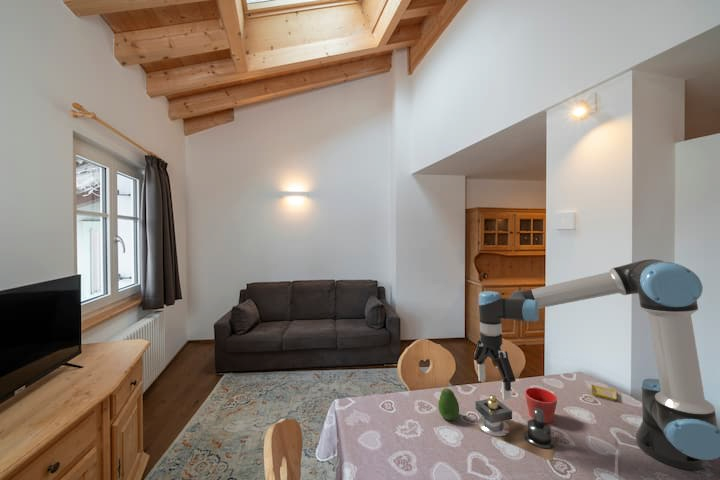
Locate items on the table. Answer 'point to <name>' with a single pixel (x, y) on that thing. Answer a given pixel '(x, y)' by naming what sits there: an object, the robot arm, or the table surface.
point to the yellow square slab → (596, 392)
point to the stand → (539, 431)
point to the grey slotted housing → (493, 416)
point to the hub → (493, 428)
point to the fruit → (448, 405)
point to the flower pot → (541, 402)
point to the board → (524, 440)
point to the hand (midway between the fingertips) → (493, 388)
